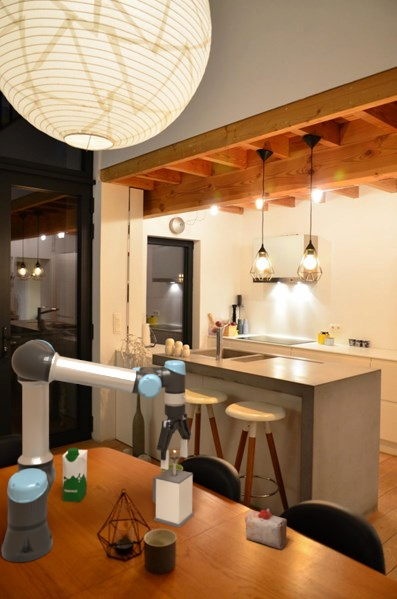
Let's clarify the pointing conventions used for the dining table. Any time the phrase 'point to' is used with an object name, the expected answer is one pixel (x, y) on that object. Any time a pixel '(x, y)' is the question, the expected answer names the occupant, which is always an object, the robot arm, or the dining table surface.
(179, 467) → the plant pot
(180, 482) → the tall white box
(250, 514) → the food item
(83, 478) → the milk carton
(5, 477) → the dining table surface
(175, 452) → the plunger
